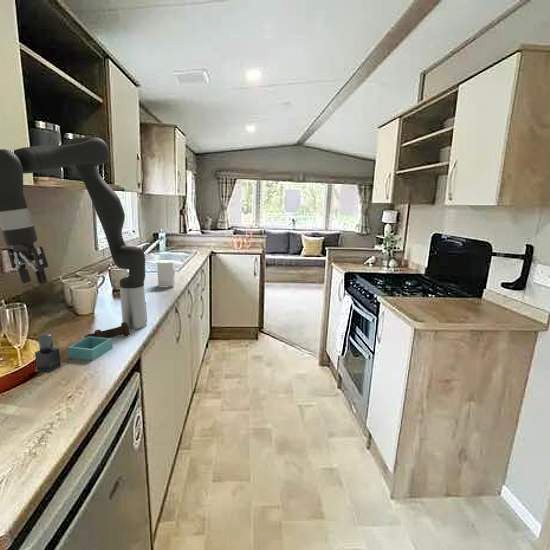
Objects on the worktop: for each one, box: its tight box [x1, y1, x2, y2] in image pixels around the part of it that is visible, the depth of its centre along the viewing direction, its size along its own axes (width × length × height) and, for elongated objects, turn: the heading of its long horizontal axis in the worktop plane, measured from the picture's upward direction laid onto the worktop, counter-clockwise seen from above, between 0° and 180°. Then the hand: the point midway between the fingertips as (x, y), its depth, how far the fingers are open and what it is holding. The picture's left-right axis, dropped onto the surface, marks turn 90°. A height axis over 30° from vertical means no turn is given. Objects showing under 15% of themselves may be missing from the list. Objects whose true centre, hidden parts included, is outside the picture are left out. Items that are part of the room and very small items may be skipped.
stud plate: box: [34, 361, 68, 374], centre depth 113 cm, size 7×7×5 cm
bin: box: [67, 336, 114, 361], centre depth 124 cm, size 10×9×5 cm
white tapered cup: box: [156, 259, 176, 288], centre depth 220 cm, size 9×9×15 cm
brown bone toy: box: [84, 322, 131, 339], centre depth 139 cm, size 6×5×15 cm
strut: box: [34, 332, 61, 371], centre depth 112 cm, size 4×4×10 cm
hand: (34, 282), depth 106 cm, fingers open, 8 cm apart
